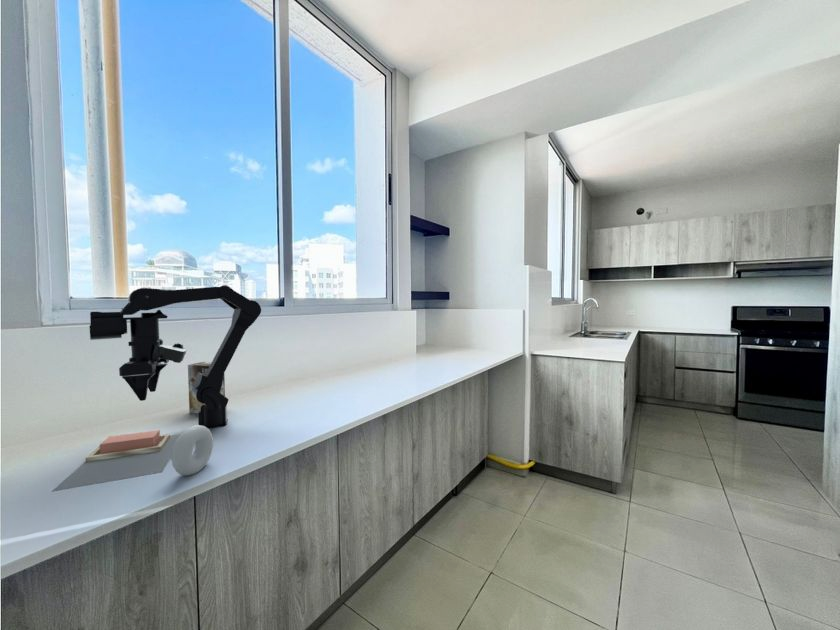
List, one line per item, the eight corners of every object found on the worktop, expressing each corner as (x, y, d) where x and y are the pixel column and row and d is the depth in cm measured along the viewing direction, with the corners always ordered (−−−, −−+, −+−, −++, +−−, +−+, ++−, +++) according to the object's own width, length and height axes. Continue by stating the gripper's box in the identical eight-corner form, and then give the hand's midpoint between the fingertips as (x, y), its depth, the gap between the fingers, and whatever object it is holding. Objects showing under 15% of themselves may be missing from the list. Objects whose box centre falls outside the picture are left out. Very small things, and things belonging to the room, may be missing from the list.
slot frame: (170, 437, 88) (170, 434, 88) (160, 450, 80) (160, 446, 80) (103, 447, 82) (102, 443, 82) (85, 462, 75) (85, 457, 75)
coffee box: (226, 409, 114) (225, 362, 113) (211, 415, 108) (209, 365, 107) (204, 407, 116) (203, 361, 115) (187, 413, 110) (186, 364, 109)
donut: (202, 461, 76) (201, 418, 76) (217, 461, 76) (216, 418, 75) (167, 485, 66) (166, 435, 66) (184, 485, 66) (183, 435, 65)
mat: (186, 435, 91) (186, 433, 91) (162, 474, 70) (162, 472, 70) (105, 446, 84) (104, 444, 84) (51, 493, 63) (51, 491, 63)
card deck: (109, 448, 82) (109, 436, 82) (159, 441, 86) (159, 430, 86) (100, 457, 77) (99, 444, 77) (153, 449, 81) (153, 437, 81)
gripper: (175, 338, 82) (178, 400, 83) (188, 332, 99) (191, 384, 99) (116, 341, 77) (120, 407, 78) (141, 334, 94) (143, 389, 94)
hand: (148, 395), depth 87 cm, fingers open, 9 cm apart
